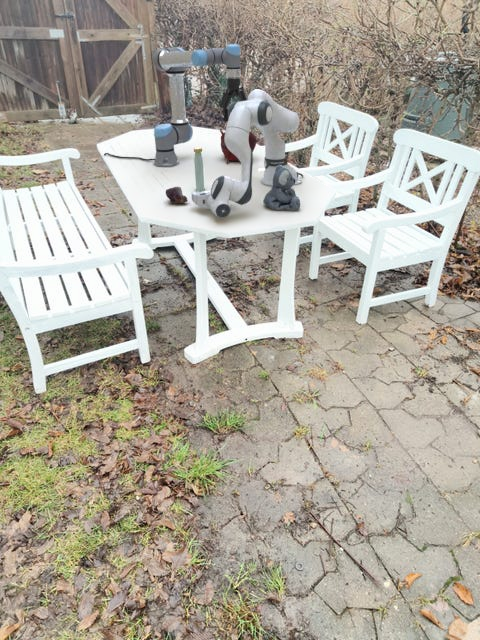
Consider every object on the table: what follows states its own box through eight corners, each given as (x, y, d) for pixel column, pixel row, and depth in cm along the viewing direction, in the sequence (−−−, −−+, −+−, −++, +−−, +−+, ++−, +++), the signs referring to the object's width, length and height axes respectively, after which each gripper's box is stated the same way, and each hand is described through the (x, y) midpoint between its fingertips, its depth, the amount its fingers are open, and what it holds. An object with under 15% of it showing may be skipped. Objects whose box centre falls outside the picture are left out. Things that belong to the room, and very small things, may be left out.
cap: (197, 152, 236) (197, 149, 235) (192, 151, 239) (192, 148, 238) (203, 151, 239) (203, 148, 238) (198, 149, 241) (198, 146, 241)
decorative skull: (217, 132, 306) (217, 129, 282) (251, 124, 305) (253, 121, 281) (224, 164, 313) (224, 164, 289) (257, 157, 312) (260, 156, 288)
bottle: (199, 191, 248) (197, 150, 236) (194, 189, 251) (191, 148, 238) (205, 190, 251) (203, 148, 238) (201, 188, 253) (198, 147, 241)
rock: (181, 200, 240) (163, 203, 236) (179, 183, 237) (161, 186, 232) (189, 203, 231) (171, 206, 227) (188, 186, 227) (169, 189, 223)
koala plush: (301, 211, 222) (304, 171, 211) (265, 212, 221) (266, 172, 210) (295, 199, 236) (297, 161, 225) (261, 200, 235) (262, 162, 224)
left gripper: (222, 80, 236) (223, 123, 248) (253, 76, 251) (253, 116, 263) (212, 79, 240) (214, 121, 252) (243, 75, 255) (243, 115, 267)
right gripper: (235, 191, 219) (228, 182, 230) (194, 195, 215) (188, 186, 226) (235, 203, 223) (228, 194, 234) (195, 208, 218) (189, 199, 229)
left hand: (234, 119), depth 258 cm, fingers open, 13 cm apart
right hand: (208, 190), depth 230 cm, fingers open, 8 cm apart
